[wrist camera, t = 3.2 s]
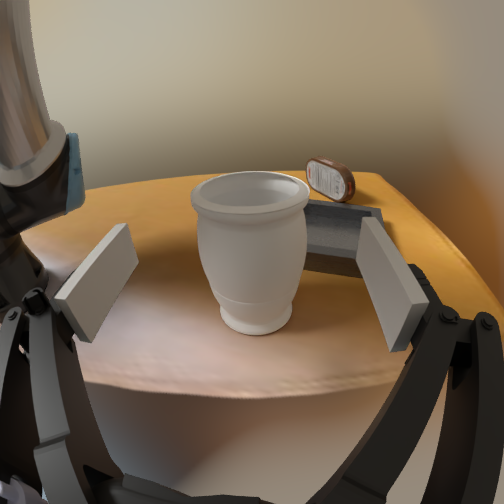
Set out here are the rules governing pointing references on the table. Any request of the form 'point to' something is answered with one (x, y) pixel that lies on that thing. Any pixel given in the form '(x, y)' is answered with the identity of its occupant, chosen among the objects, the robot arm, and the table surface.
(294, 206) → the jar
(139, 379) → the table surface
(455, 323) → the robot arm
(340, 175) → the tin
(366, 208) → the dark grey square tray
